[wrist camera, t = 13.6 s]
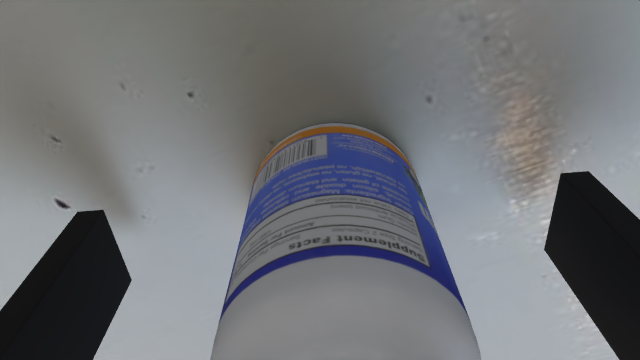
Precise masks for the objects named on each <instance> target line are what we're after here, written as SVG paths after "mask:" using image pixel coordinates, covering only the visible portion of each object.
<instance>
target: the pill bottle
mask: <svg viewBox="0 0 640 360" xmlns="http://www.w3.org/2000/svg"><path fill="white" fill-rule="evenodd" d="M211 360H481V356H480V350H479V347H478V343H477V340H476V337H475V334H474V331H473V329H472V325H471V322H470V319H469V317H468V314H467V311H466V309H465V306H464V304H463V301H462V298H461V296H460V293H459V291H458V288H457V285H456V283H455V280H454V277H453V274H452V272H451V269H450V266H449V264H448V261H447V258H446V256H445V253H444V250H443V248H442V245H441V242H440V240H439V237H438V234H437V231H436V229H435V226H434V223H433V220H432V217H431V215H430V212H429V209H428V207H427V204H426V201H425V198H424V196H423V193H422V190H421V187H420V185H419V182H418V179H417V177H416V174H415V172H414V170H413V168H412V166H411V164H410V163H409V161H408V159H407V158H406V156H405V155H404V154H403V153H402V152H401V150H400V149H399V148H398V147H397V146H396V145H395V144H393V143H392V142H391V141H389V140H388V139H387V138H385V137H384V136H382V135H380V134H378V133H376V132H374V131H372V130H369V129H367V128H364V127H360V126H356V125H352V124H344V123H326V124H319V125H314V126H310V127H306V128H304V129H301V130H299V131H297V132H295V133H293V134H291V135H289V136H287V137H286V138H285V139H283V140H282V141H281V142H279V143H278V144H277V145H276V146H275V147H274V148H273V149H272V150H271V151H270V152H269V153H268V155H267V156H266V157H265V159H264V160H263V162H262V164H261V165H260V167H259V170H258V172H257V174H256V177H255V180H254V183H253V187H252V191H251V195H250V200H249V204H248V209H247V213H246V217H245V221H244V225H243V229H242V233H241V237H240V242H239V246H238V250H237V254H236V258H235V262H234V265H233V269H232V273H231V277H230V281H229V285H228V289H227V293H226V297H225V301H224V305H223V309H222V313H221V317H220V321H219V325H218V329H217V333H216V336H215V340H214V345H213V349H212V354H211Z"/></svg>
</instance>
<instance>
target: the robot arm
mask: <svg viewBox="0 0 640 360" xmlns="http://www.w3.org/2000/svg"><path fill="white" fill-rule="evenodd" d="M544 250H545V251H546V253H547V254H548V256H549V257H550V259H551V260H552V262H553V263H554V265H555V266H556V267H557V269H558V270H559V272H560V273H561V275H562V276H563V278H564V279H565V281H566V282H567V284H568V285H569V286H570V288H571V289H572V291H573V292H574V294H575V295H576V297H577V298H578V300H579V301H580V303H581V304H582V305H583V307H584V308H585V310H586V311H587V313H588V314H589V316H590V317H591V319H592V320H593V322H594V323H595V325H596V326H597V327H598V329H599V330H600V332H601V333H602V335H603V336H604V338H605V339H606V341H607V342H608V344H609V345H610V346H611V348H612V349H613V351H614V352H615V354H616V355H617V357H618V358H619V360H640V220H639V219H638V218H637V217H636V216H635V215H634V214H633V213H632V212H631V211H630V210H629V209H628V208H627V207H626V206H625V205H624V204H623V203H621V202H620V201H619V200H618V199H617V198H616V197H615V196H614V195H613V194H612V193H611V192H610V191H609V190H608V189H607V188H606V187H605V186H603V185H602V184H601V183H600V182H599V181H598V180H597V179H596V178H595V177H594V176H593V175H592V174H591V173H590V172H589V171H586V172H573V173H561V175H560V180H559V184H558V189H557V193H556V198H555V202H554V207H553V212H552V216H551V221H550V225H549V230H548V235H547V239H546V244H545V248H544ZM130 282H131V277H130V275H129V272H128V270H127V267H126V265H125V262H124V260H123V258H122V255H121V253H120V250H119V248H118V245H117V243H116V240H115V238H114V235H113V233H112V230H111V228H110V225H109V223H108V220H107V218H106V215H105V213H104V210H95V211H82V212H77V213H76V214H75V216H74V217H73V218H72V220H71V221H70V222H69V223H68V225H67V226H66V227H65V229H64V230H63V231H62V232H61V234H60V235H59V236H58V238H57V239H56V240H55V241H54V243H53V244H52V245H51V247H50V248H49V249H48V250H47V252H46V253H45V254H44V256H43V257H42V258H41V259H40V261H39V262H38V263H37V264H36V266H35V267H34V268H33V270H32V271H31V272H30V273H29V275H28V276H27V277H26V279H25V280H24V281H23V282H22V284H21V285H20V286H19V288H18V289H17V290H16V291H15V293H14V294H13V295H12V297H11V298H10V299H9V300H8V302H7V303H6V304H5V306H4V307H3V308H2V309H1V311H0V360H93V358H94V356H95V354H96V352H97V350H98V348H99V346H100V344H101V342H102V340H103V338H104V336H105V334H106V332H107V329H108V327H109V325H110V323H111V321H112V319H113V317H114V315H115V313H116V311H117V309H118V307H119V305H120V303H121V301H122V299H123V297H124V295H125V293H126V291H127V289H128V287H129V285H130Z"/></svg>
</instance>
